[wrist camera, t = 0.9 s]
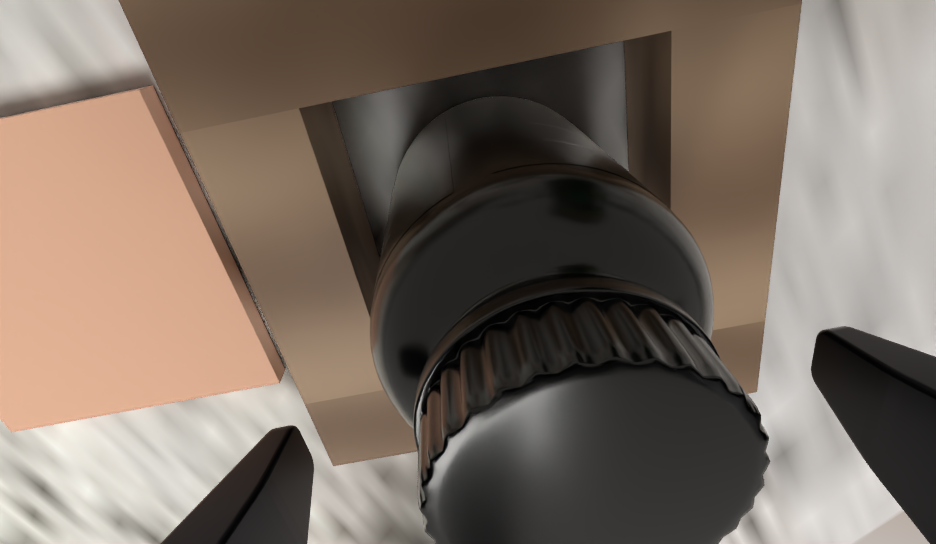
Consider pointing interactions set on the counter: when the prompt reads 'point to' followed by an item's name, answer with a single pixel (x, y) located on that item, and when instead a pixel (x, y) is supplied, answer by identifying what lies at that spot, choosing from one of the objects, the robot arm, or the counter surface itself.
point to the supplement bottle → (554, 343)
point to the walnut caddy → (440, 56)
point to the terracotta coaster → (114, 269)
